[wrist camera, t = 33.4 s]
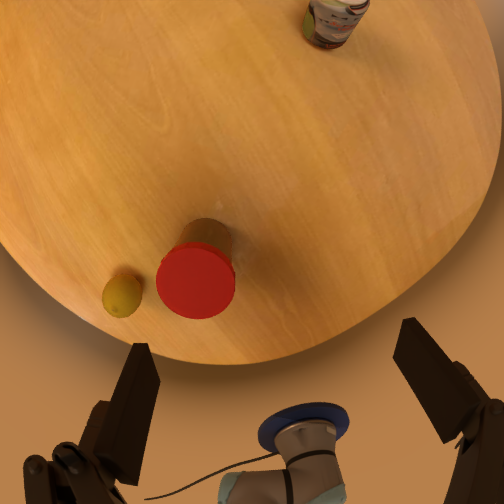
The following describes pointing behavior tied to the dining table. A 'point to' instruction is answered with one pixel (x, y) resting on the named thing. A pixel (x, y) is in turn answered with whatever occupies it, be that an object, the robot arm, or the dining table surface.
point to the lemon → (122, 296)
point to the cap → (196, 280)
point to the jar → (208, 235)
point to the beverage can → (332, 21)
